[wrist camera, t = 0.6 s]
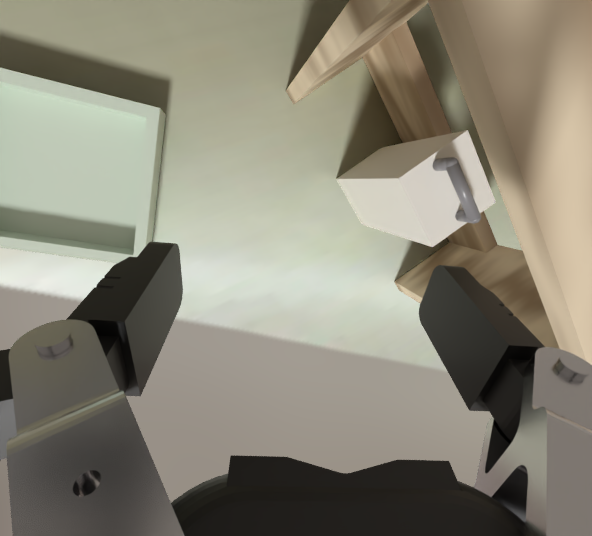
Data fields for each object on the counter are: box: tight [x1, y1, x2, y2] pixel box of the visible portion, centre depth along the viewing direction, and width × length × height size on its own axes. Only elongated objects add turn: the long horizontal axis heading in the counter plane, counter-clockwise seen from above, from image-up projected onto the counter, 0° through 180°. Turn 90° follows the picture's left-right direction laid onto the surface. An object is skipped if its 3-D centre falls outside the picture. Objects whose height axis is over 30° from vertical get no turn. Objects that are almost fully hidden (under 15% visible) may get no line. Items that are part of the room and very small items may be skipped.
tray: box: [0, 68, 166, 263], centre depth 24 cm, size 12×12×2 cm
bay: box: [286, 0, 592, 365], centre depth 21 cm, size 8×22×19 cm, turn 33°
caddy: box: [336, 130, 496, 247], centre depth 24 cm, size 5×5×12 cm
